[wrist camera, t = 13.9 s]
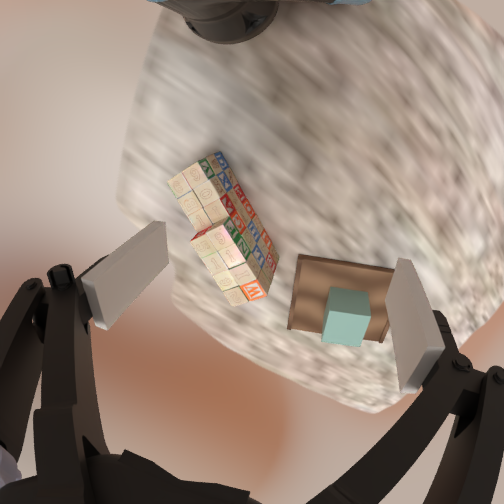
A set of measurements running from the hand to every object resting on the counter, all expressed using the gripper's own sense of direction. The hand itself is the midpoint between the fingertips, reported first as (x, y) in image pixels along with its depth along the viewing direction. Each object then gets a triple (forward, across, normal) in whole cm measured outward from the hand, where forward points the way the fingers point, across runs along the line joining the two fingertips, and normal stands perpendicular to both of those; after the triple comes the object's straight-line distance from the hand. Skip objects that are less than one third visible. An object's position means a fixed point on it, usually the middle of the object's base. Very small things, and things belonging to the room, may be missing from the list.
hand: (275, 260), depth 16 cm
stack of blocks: (+33, -12, -10) cm, 37 cm away
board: (+33, +10, -24) cm, 42 cm away
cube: (+31, +10, -25) cm, 41 cm away
